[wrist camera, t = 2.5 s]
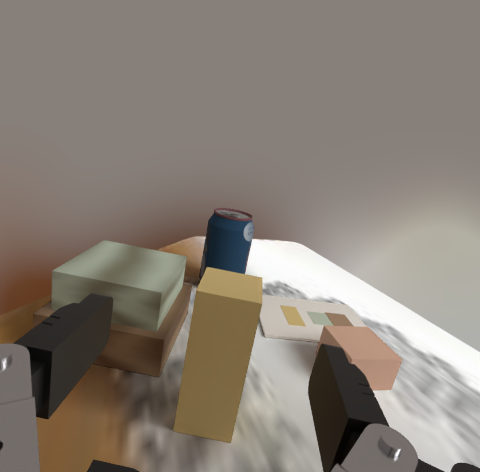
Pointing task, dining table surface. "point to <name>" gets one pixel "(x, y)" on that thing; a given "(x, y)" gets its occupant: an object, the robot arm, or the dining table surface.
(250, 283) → the tall brick
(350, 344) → the brick
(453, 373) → the dining table surface
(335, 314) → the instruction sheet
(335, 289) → the dining table surface
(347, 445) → the robot arm
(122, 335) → the tower base
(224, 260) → the soda can
